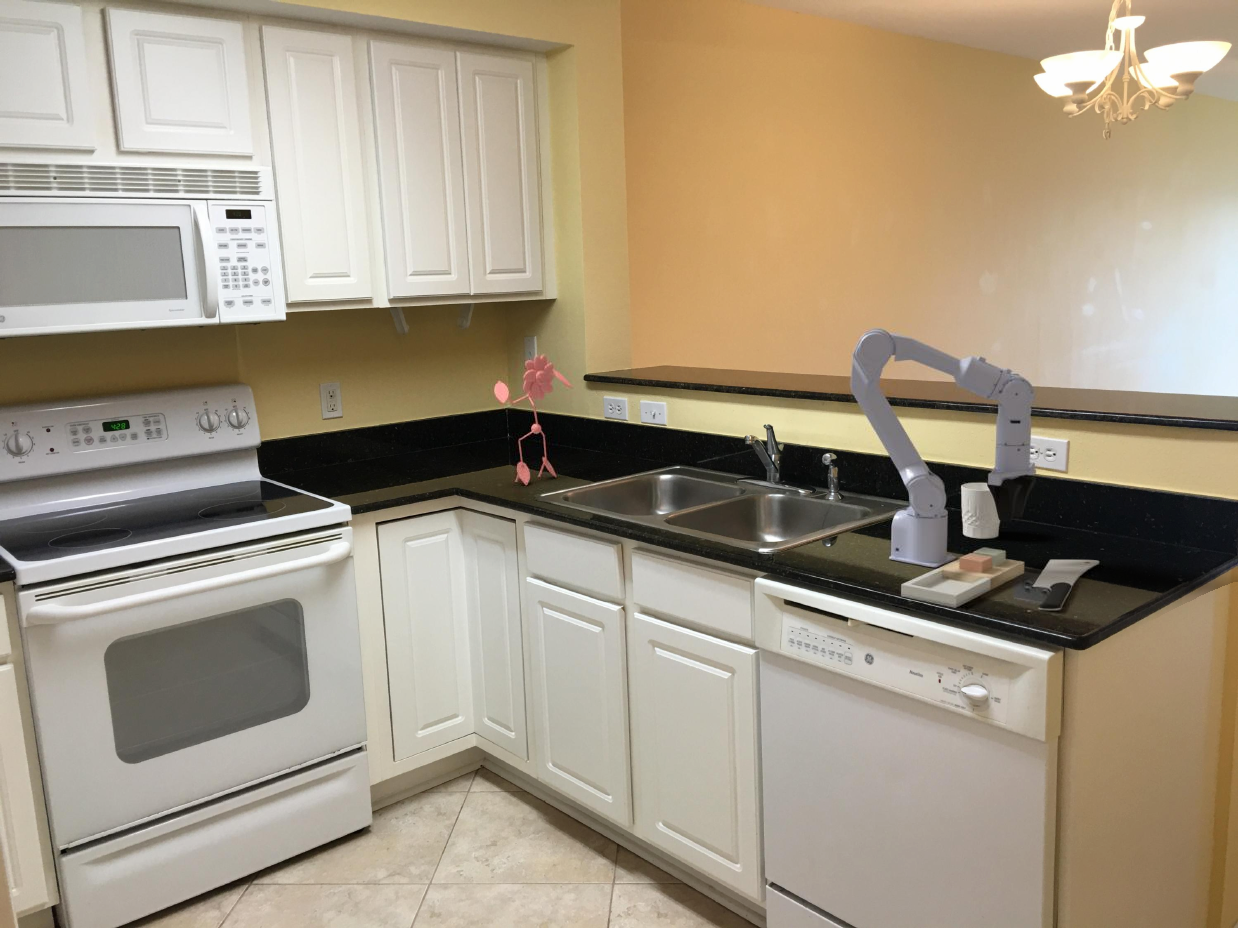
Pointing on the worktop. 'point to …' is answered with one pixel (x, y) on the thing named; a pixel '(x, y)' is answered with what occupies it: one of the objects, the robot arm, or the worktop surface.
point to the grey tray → (943, 589)
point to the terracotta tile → (975, 563)
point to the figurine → (537, 385)
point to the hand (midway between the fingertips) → (1010, 518)
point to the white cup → (979, 511)
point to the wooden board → (984, 573)
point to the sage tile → (993, 555)
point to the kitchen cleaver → (1060, 581)
